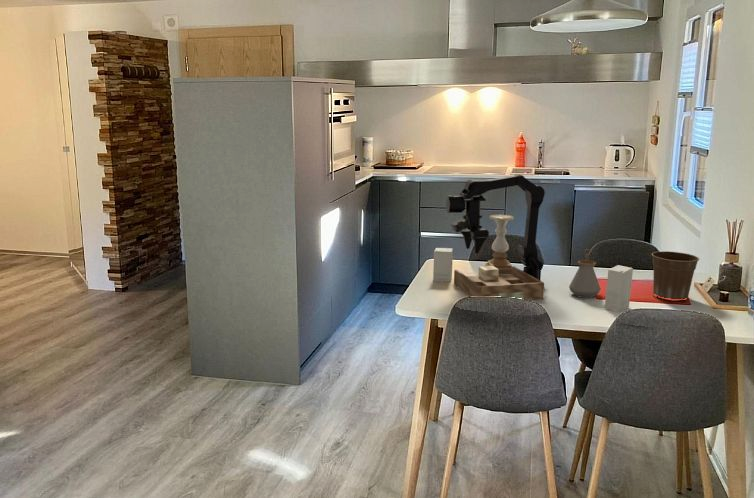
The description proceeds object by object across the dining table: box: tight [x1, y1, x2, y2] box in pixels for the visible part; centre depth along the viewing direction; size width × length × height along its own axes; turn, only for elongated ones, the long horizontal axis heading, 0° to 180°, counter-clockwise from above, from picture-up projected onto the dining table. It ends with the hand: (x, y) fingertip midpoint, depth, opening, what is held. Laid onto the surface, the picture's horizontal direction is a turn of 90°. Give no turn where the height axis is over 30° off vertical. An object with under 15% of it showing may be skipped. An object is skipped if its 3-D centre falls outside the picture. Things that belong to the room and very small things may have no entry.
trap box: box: [453, 265, 545, 300], centre depth 259 cm, size 26×26×6 cm
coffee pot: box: [568, 248, 602, 299], centre depth 258 cm, size 21×12×15 cm, turn 162°
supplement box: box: [432, 247, 454, 283], centre depth 274 cm, size 7×7×13 cm
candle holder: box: [484, 214, 515, 274], centre depth 288 cm, size 11×11×24 cm
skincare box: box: [604, 264, 634, 313], centre depth 237 cm, size 8×6×15 cm
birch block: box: [477, 265, 499, 280], centre depth 267 cm, size 6×6×4 cm
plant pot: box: [651, 250, 700, 299], centre depth 250 cm, size 16×16×16 cm
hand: (472, 251), depth 266 cm, fingers open, 9 cm apart
